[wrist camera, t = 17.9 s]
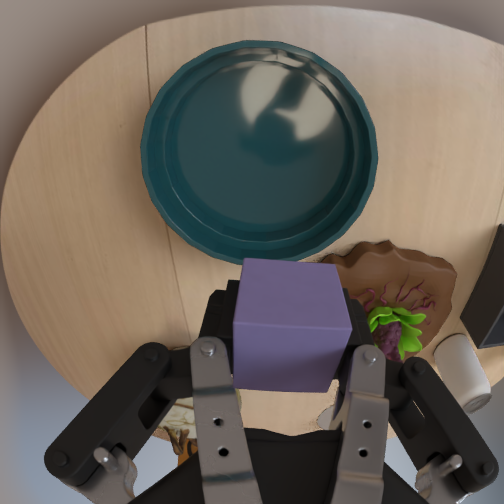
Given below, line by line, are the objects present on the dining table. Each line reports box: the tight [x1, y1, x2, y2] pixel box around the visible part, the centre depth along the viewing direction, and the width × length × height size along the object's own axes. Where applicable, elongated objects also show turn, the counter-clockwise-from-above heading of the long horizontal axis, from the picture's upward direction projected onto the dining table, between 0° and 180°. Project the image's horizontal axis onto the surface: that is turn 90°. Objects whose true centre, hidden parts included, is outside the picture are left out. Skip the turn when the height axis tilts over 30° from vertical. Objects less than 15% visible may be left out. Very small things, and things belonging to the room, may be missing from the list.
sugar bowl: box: [158, 347, 242, 455], centre depth 36 cm, size 20×15×15 cm
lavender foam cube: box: [233, 258, 352, 393], centre depth 12 cm, size 4×4×4 cm
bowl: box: [140, 40, 378, 265], centre depth 25 cm, size 19×19×4 cm
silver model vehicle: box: [318, 405, 334, 430], centre depth 47 cm, size 15×15×5 cm
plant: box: [320, 240, 457, 363], centre depth 30 cm, size 20×20×11 cm
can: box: [434, 334, 492, 416], centre depth 33 cm, size 6×6×12 cm
